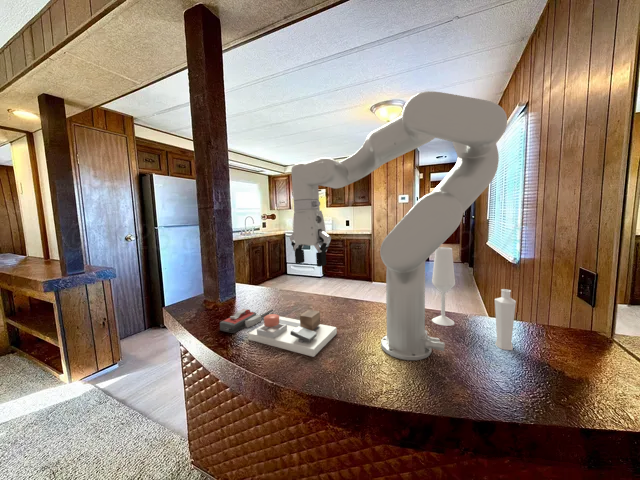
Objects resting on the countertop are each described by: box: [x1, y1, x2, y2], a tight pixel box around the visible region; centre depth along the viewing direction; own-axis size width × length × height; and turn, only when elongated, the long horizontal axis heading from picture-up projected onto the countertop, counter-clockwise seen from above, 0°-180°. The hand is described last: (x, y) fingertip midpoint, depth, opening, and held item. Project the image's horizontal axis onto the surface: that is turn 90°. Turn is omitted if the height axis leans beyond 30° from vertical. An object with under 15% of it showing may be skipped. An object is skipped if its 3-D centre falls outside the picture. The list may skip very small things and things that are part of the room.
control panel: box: [248, 315, 338, 357], centre depth 75 cm, size 22×14×4 cm, turn 62°
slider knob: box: [299, 309, 321, 331], centre depth 76 cm, size 4×5×4 cm
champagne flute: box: [431, 246, 456, 327], centre depth 81 cm, size 7×7×24 cm
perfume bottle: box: [494, 288, 517, 351], centre depth 65 cm, size 5×4×15 cm
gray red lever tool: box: [219, 308, 274, 334], centre depth 88 cm, size 9×4×20 cm
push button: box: [263, 313, 280, 327], centre depth 74 cm, size 4×4×2 cm
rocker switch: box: [290, 326, 317, 342], centre depth 69 cm, size 6×4×1 cm, turn 62°
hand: (310, 264), depth 76 cm, fingers open, 9 cm apart
